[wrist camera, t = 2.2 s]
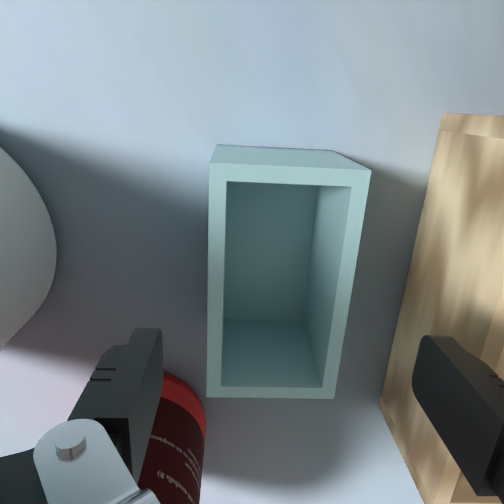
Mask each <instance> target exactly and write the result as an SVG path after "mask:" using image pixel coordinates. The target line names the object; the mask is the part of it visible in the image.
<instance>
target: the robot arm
mask: <svg viewBox="0 0 504 504" xmlns="http://www.w3.org/2000/svg"><path fill="white" fill-rule="evenodd" d="M162 386H163V348H162V331H161V329H152V328H135V329H134V331H133V333H132V336H131V338H130V340H129V342H128V344H127V345H115V346H113V347H112V348H111V349H110V350H108V351H107V352H106V353H105V354H104V355H102V357H101V359H100V361H99V363H98V364H97V366H96V369H95V371H94V372H93V374H92V376H91V377H90V381H88V383H87V385H86V387H85V388H84V390H83V392H82V394H81V396H80V398H79V400H78V401H77V403H76V405H75V407H74V409H73V411H72V413H71V414H70V416H69V418H68V420H67V422H64V423H62V424H59V425H57V426H56V427H54V428H52V429H51V430H49V431H48V432H47V433H46V434H45V435H44V436H43V437H42V438H41V439H40V440H39V441H38V443H37V445H36V447H35V448H33V449H30V450H27V451H24V452H20V453H16V454H12V455H8V456H4V457H0V504H160V502H159V501H158V499H157V497H156V496H155V494H154V493H153V492H152V491H151V490H150V489H149V488H145V489H144V490H142V491H141V490H140V489H139V488H138V486H137V484H138V481H139V477H140V473H141V469H142V465H143V461H144V458H145V454H146V450H147V446H148V442H149V438H150V434H151V431H152V427H153V423H154V419H155V415H156V411H157V408H158V404H159V400H160V396H161V392H162ZM412 390H413V393H414V396H415V398H416V399H417V401H418V403H419V404H420V406H421V407H422V409H423V411H424V412H425V414H426V415H427V417H428V419H429V420H430V422H431V423H432V425H433V427H434V428H435V430H436V431H437V433H438V435H439V436H440V438H441V439H442V441H443V443H444V444H445V446H446V447H447V449H448V451H449V452H450V454H451V455H452V457H453V459H454V460H455V462H456V463H457V465H458V467H459V468H460V470H461V471H462V473H463V475H464V476H465V478H466V479H467V481H468V483H469V484H470V486H471V487H472V489H473V491H474V492H475V494H476V495H477V496H498V498H499V499H500V501H501V502H502V503H501V504H504V381H503V380H502V379H501V378H498V375H497V374H496V373H495V372H494V371H493V370H492V369H491V368H490V367H489V366H488V365H487V364H486V363H485V362H483V361H482V360H480V359H479V358H477V357H476V356H474V355H472V354H471V353H469V352H466V351H465V350H464V349H463V348H462V346H461V345H460V344H459V343H458V342H457V341H456V340H455V339H454V338H453V337H451V336H443V335H425V336H423V337H422V339H421V341H420V344H419V349H418V353H417V357H416V361H415V365H414V369H413V374H412Z"/></svg>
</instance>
